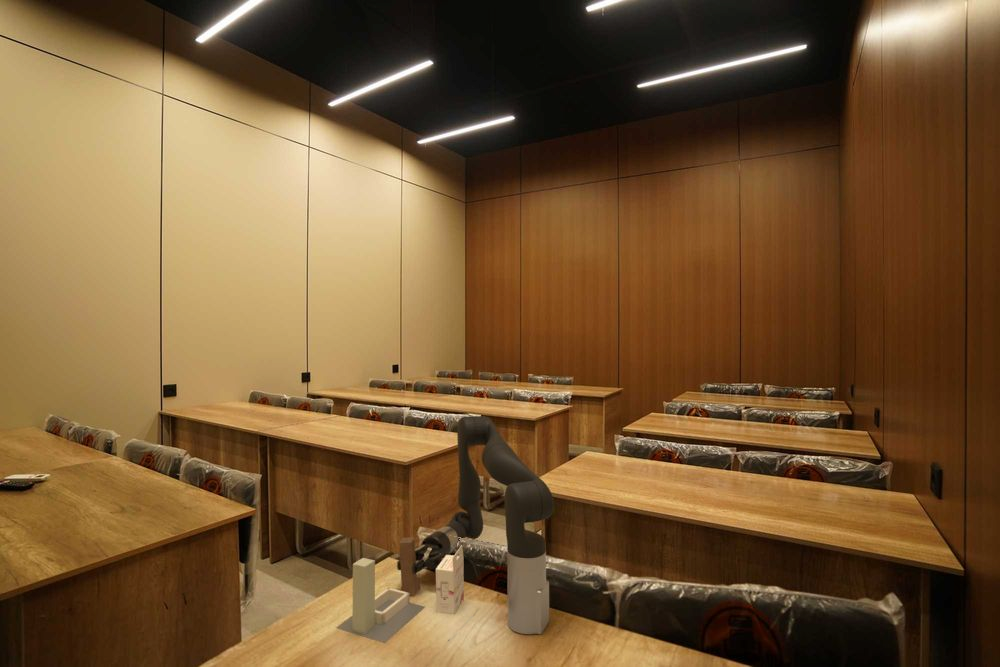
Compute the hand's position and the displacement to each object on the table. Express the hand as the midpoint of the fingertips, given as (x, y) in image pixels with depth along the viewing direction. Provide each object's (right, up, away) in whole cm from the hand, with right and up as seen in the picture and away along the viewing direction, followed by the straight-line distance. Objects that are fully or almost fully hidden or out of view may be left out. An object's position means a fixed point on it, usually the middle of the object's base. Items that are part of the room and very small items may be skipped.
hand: (406, 568), depth 125 cm
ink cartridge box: (+12, -8, -5) cm, 15 cm away
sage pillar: (-7, -6, -15) cm, 18 cm away
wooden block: (+1, -8, +2) cm, 9 cm away
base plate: (-4, -8, -10) cm, 13 cm away
